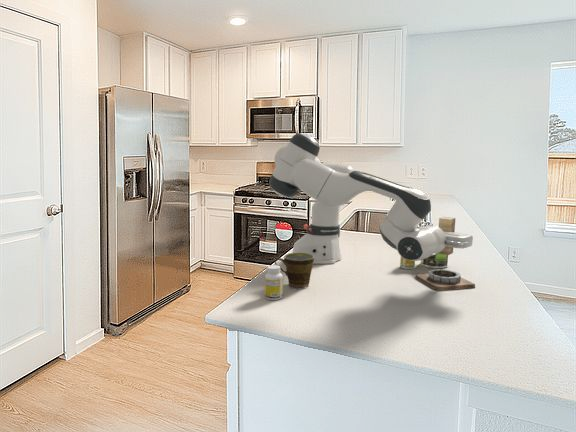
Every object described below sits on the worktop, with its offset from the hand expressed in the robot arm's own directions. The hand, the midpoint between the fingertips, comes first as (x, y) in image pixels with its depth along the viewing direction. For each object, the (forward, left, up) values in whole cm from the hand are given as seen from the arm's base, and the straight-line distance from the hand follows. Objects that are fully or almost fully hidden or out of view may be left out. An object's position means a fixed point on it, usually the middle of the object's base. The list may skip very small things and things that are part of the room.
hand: (447, 233), depth 149 cm
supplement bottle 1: (-60, -2, -17) cm, 63 cm away
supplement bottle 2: (-3, +20, -17) cm, 26 cm away
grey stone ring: (0, 0, -16) cm, 16 cm away
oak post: (-1, -1, -6) cm, 7 cm away
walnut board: (0, 0, -17) cm, 17 cm away
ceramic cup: (-51, +8, -17) cm, 55 cm away
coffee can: (+9, +21, -17) cm, 28 cm away
